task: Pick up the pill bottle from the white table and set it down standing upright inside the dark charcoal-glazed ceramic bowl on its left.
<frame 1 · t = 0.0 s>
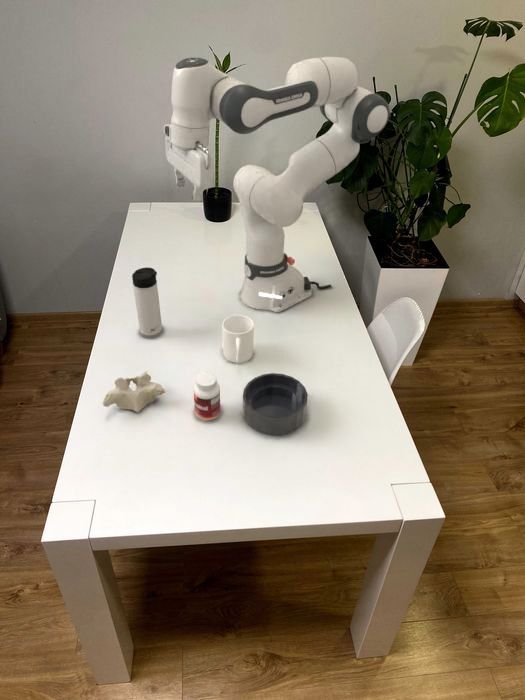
hand: (188, 192, 136), 39 cm above the table, tool pointing down, fingers open, 8 cm apart
pill bottle: (207, 412, 132), on the table
bowl: (274, 412, 132), on the table
cup: (238, 358, 148), on the table
travel mug: (152, 332, 155), on the table
bone: (140, 402, 134), on the table
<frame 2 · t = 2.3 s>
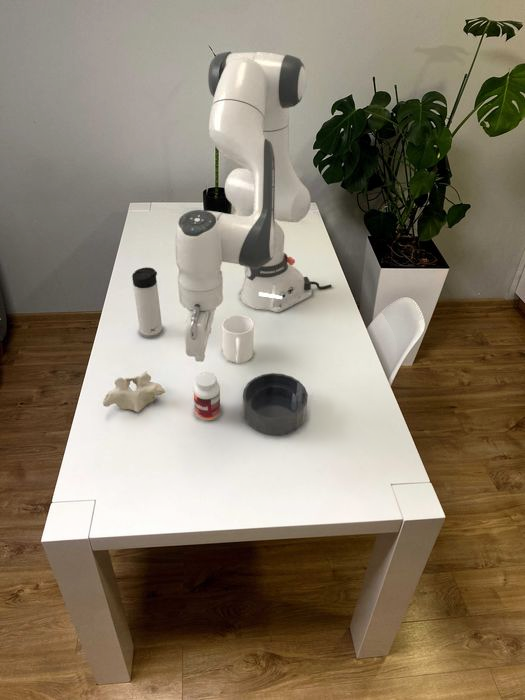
hand: (203, 345, 118), 21 cm above the table, tool pointing down, fingers open, 8 cm apart
nothing on the table moved.
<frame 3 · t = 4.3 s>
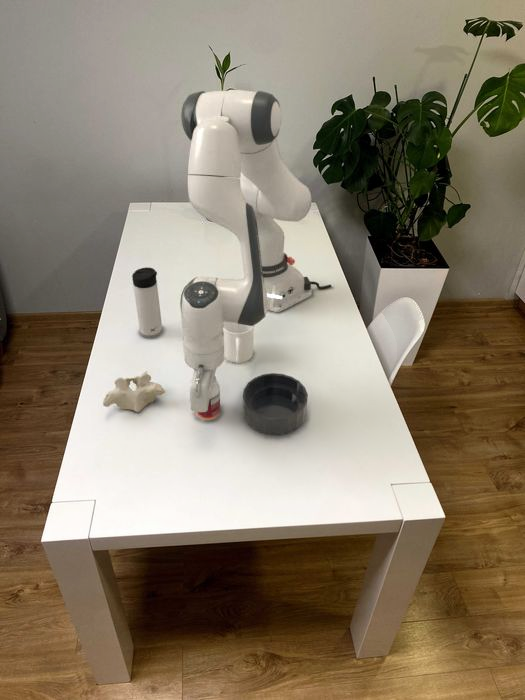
hand: (206, 396, 128), 5 cm above the table, tool pointing down, fingers closed on pill bottle, 6 cm apart
pill bottle: (207, 412, 132), on the table, touching gripper
everything else where it was.
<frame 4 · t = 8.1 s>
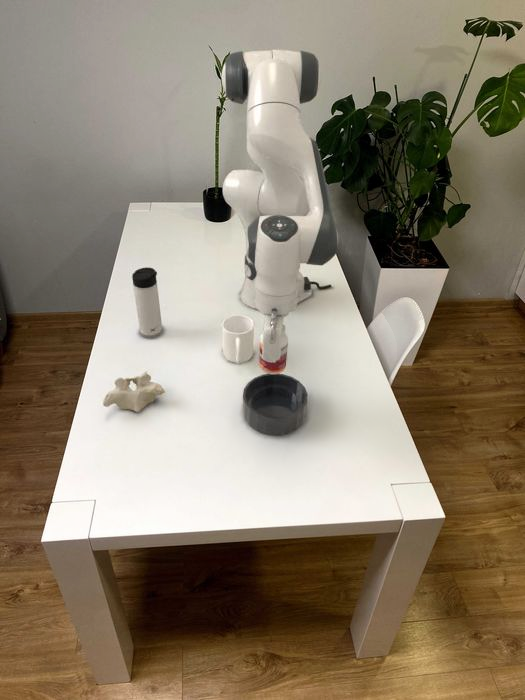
hand: (273, 348, 119), 20 cm above the table, tool pointing down, fingers closed on pill bottle, 6 cm apart
pill bottle: (272, 366, 123), point 15 cm above the table, touching gripper
everything else where it was.
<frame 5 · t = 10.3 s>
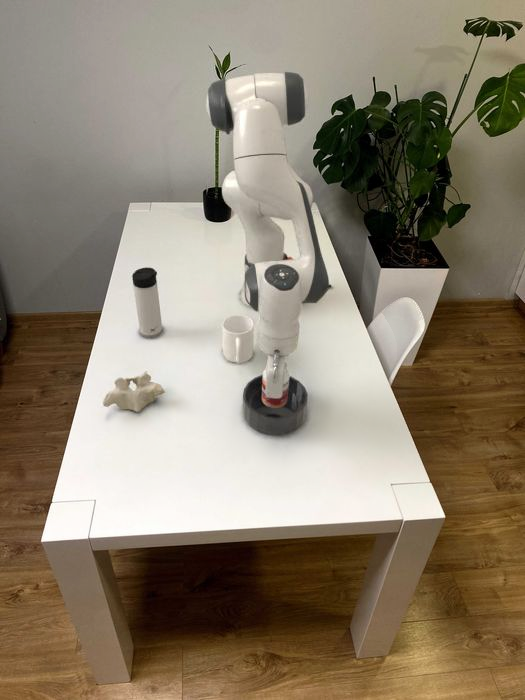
hand: (275, 384, 126), 10 cm above the table, tool pointing down, fingers closed on pill bottle, 6 cm apart
pill bottle: (274, 400, 130), point 4 cm above the table, touching gripper
everything else where it was.
when the fingers open (6 cm above the table, at t = 11.9 s): pill bottle stays where it is, resting on bowl.
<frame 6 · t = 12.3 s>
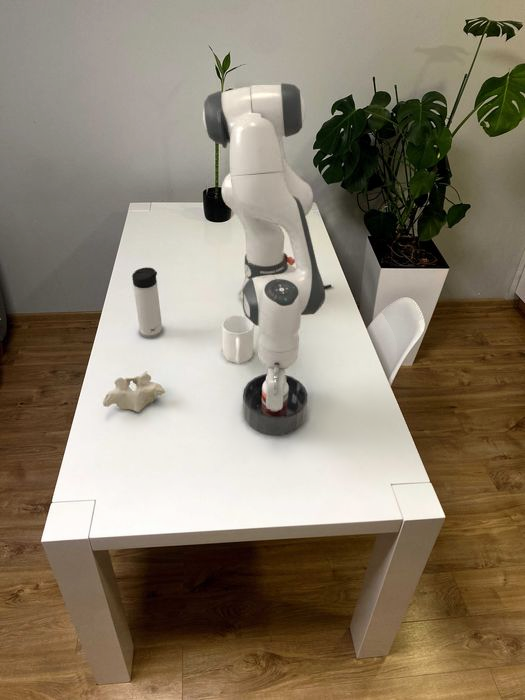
hand: (275, 394, 128), 6 cm above the table, tool pointing down, fingers open, 8 cm apart
pill bottle: (274, 411, 132), resting on bowl
everything else where it was.
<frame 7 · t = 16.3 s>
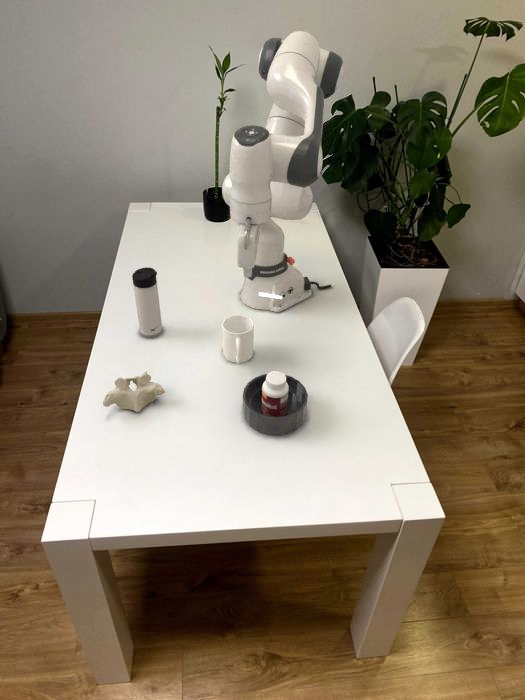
hand: (250, 264, 125), 31 cm above the table, tool pointing down, fingers open, 8 cm apart
nothing on the table moved.
at the end: pill bottle inside the target area in the bowl (0.1 cm from its centre), point 0.4 cm above the bowl's base; pill bottle tilted 0°; the gripper is holding nothing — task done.
